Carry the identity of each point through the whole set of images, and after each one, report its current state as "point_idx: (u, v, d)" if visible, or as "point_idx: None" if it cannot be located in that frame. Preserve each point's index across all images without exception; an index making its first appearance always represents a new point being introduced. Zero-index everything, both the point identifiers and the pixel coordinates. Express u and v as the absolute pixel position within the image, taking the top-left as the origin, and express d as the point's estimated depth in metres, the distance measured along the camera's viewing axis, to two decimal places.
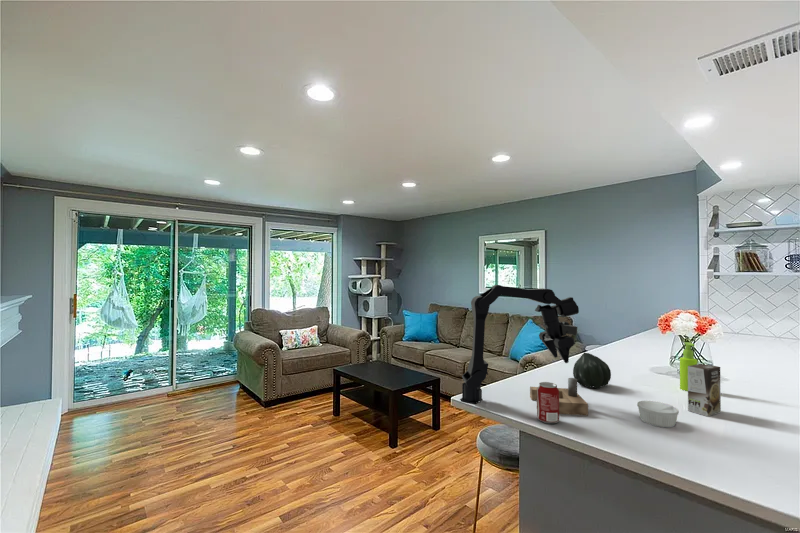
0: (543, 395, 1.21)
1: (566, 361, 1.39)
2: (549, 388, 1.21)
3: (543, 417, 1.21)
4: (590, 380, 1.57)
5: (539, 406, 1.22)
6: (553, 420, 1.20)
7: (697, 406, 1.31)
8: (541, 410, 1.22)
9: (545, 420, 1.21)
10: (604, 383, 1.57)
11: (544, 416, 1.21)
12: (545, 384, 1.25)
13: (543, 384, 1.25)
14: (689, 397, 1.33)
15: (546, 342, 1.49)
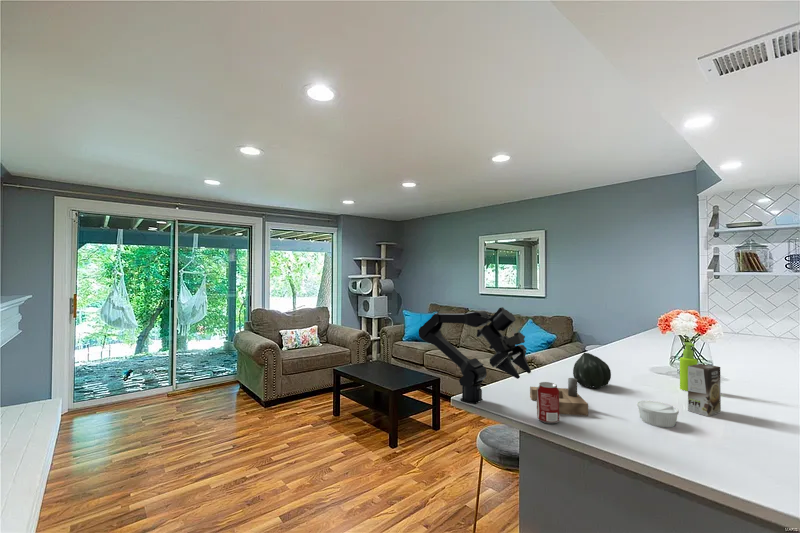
0: (543, 395, 1.21)
1: (516, 376, 1.26)
2: (549, 388, 1.21)
3: (543, 417, 1.21)
4: (590, 380, 1.57)
5: (539, 406, 1.22)
6: (553, 420, 1.20)
7: (697, 406, 1.31)
8: (541, 410, 1.22)
9: (545, 420, 1.21)
10: (604, 383, 1.57)
11: (544, 416, 1.21)
12: (545, 384, 1.25)
13: (543, 384, 1.25)
14: (689, 397, 1.33)
15: (514, 360, 1.37)
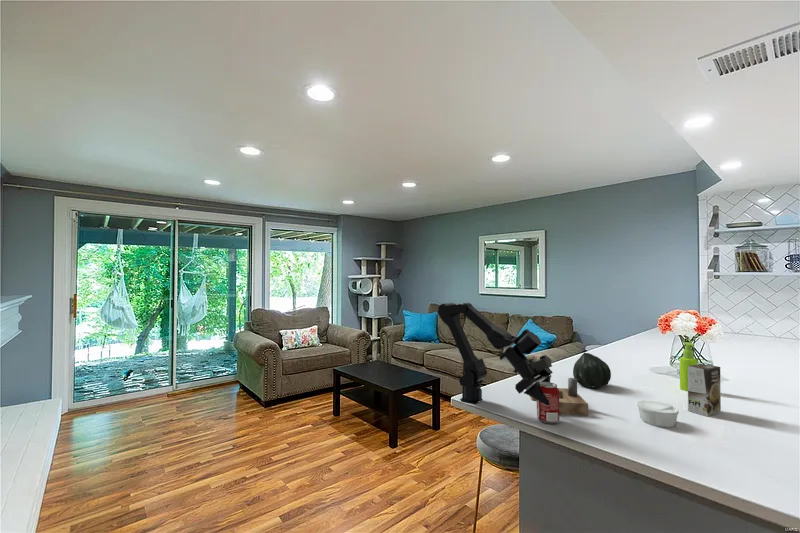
0: None
1: (546, 403, 1.20)
2: (549, 388, 1.21)
3: (543, 417, 1.21)
4: (590, 380, 1.57)
5: (539, 406, 1.22)
6: (553, 420, 1.20)
7: (697, 406, 1.31)
8: (541, 410, 1.22)
9: (545, 420, 1.21)
10: (604, 383, 1.57)
11: (544, 416, 1.21)
12: (545, 383, 1.25)
13: (543, 384, 1.25)
14: (689, 397, 1.33)
15: None
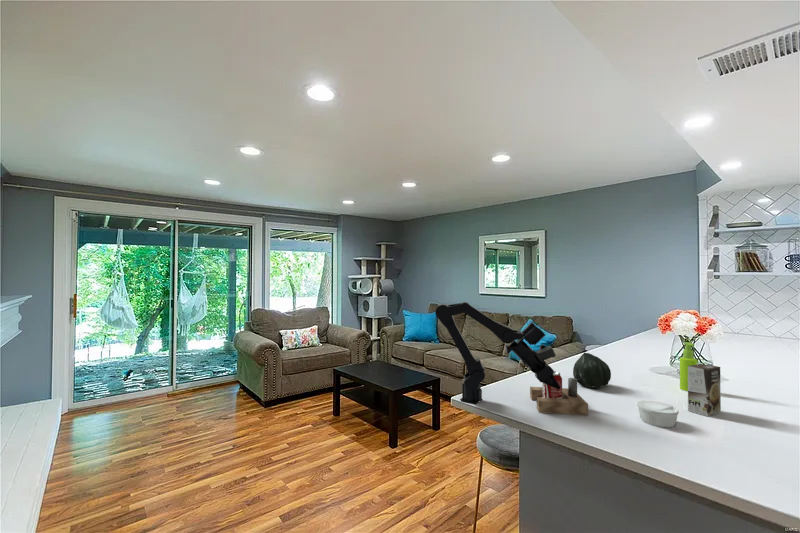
0: None
1: (558, 387, 1.34)
2: (557, 376, 1.36)
3: None
4: (590, 380, 1.57)
5: (549, 393, 1.36)
6: None
7: (697, 406, 1.31)
8: (551, 397, 1.35)
9: None
10: (604, 383, 1.57)
11: None
12: None
13: None
14: (689, 397, 1.33)
15: None
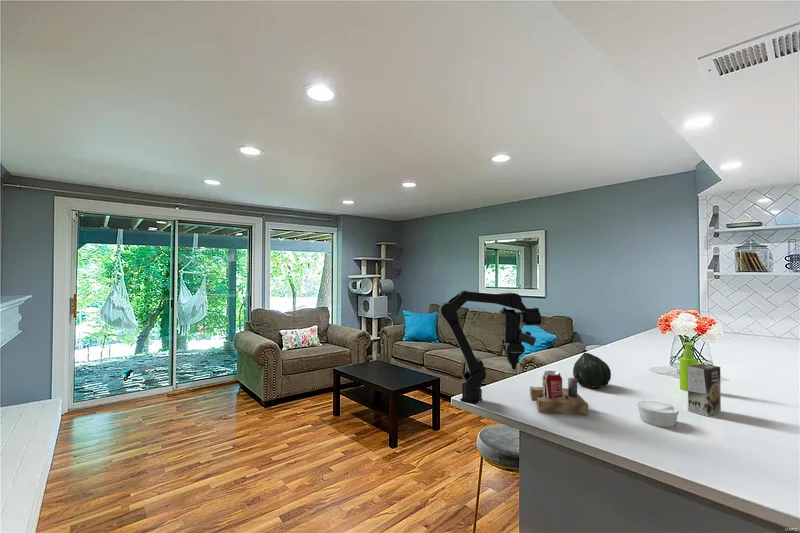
0: (554, 382, 1.35)
1: (513, 367, 1.38)
2: (557, 376, 1.36)
3: None
4: (590, 380, 1.57)
5: (549, 393, 1.36)
6: None
7: (697, 406, 1.31)
8: (551, 397, 1.35)
9: None
10: (604, 383, 1.57)
11: None
12: (547, 372, 1.40)
13: (547, 373, 1.39)
14: (689, 397, 1.33)
15: (505, 346, 1.49)
